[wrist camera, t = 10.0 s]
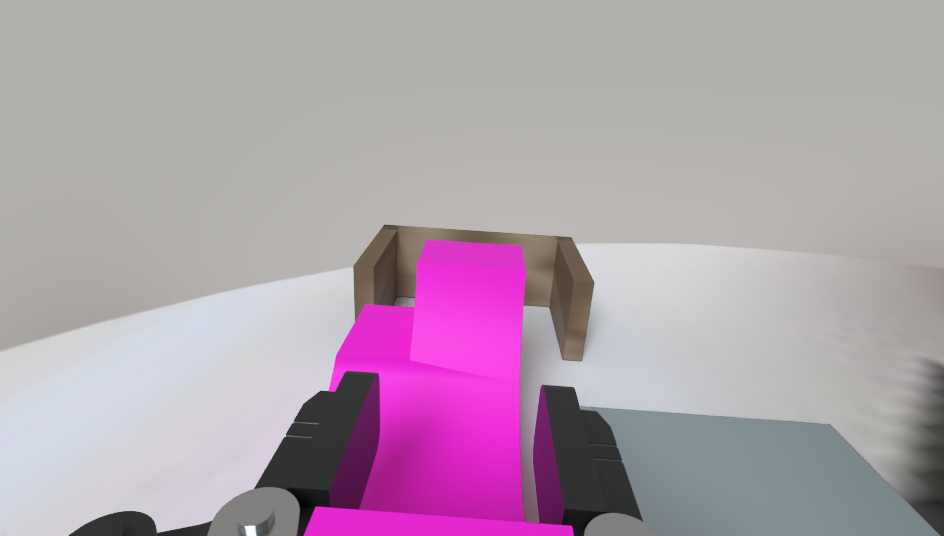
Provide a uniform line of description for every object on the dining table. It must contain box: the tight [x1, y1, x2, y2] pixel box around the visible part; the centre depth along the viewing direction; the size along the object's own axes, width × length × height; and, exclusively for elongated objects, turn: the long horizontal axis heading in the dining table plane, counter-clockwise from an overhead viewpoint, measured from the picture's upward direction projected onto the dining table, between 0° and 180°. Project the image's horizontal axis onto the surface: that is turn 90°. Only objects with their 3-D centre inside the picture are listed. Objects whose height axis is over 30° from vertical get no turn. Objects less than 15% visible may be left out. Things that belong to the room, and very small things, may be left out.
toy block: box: [304, 240, 574, 536], centre depth 14 cm, size 15×6×8 cm, turn 178°
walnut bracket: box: [353, 225, 594, 361], centre depth 29 cm, size 12×8×4 cm, turn 88°
